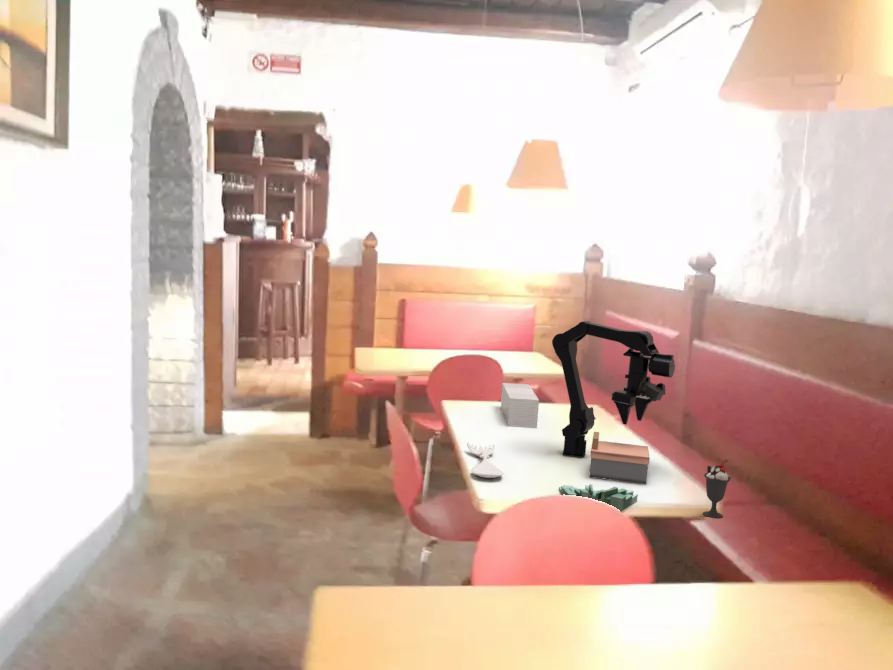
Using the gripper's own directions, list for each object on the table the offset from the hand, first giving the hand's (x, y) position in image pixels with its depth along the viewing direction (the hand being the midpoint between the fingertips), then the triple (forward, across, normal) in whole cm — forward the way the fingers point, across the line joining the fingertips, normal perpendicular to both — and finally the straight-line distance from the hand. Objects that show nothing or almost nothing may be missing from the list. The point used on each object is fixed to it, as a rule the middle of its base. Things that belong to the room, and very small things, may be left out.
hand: (632, 422), depth 239 cm
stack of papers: (+15, +26, +61) cm, 68 cm away
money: (+14, -37, -13) cm, 42 cm away
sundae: (+13, -24, -37) cm, 46 cm away
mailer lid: (+8, -12, -3) cm, 14 cm away
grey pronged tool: (+15, -37, +27) cm, 48 cm away
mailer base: (+14, -12, -3) cm, 18 cm away
